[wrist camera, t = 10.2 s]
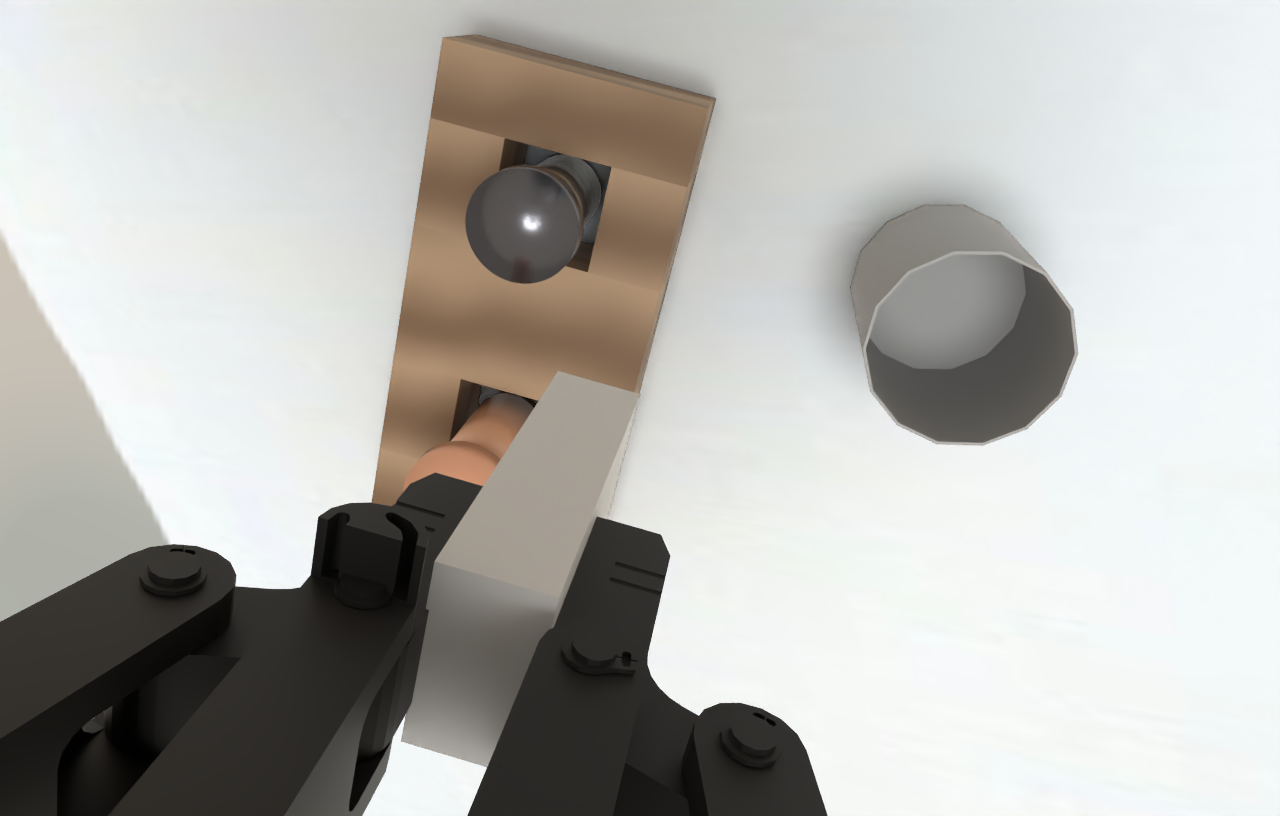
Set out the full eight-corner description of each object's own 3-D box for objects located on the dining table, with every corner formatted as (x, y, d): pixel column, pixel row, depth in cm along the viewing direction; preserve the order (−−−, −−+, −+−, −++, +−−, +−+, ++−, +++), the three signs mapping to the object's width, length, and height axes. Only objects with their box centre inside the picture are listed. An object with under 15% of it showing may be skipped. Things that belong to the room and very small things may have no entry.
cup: (846, 364, 52) (857, 441, 43) (854, 204, 49) (868, 250, 40) (1016, 368, 51) (1065, 448, 42) (1035, 204, 48) (1092, 251, 39)
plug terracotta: (471, 371, 52) (411, 438, 44) (561, 396, 51) (518, 469, 43) (455, 453, 54) (395, 532, 46) (542, 478, 53) (498, 562, 45)
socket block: (475, 34, 49) (442, 37, 44) (716, 98, 48) (707, 108, 44) (404, 466, 58) (371, 505, 54) (605, 523, 58) (588, 568, 53)
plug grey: (528, 130, 49) (475, 155, 41) (623, 156, 49) (589, 186, 41) (509, 225, 51) (456, 266, 43) (601, 250, 51) (565, 296, 43)
